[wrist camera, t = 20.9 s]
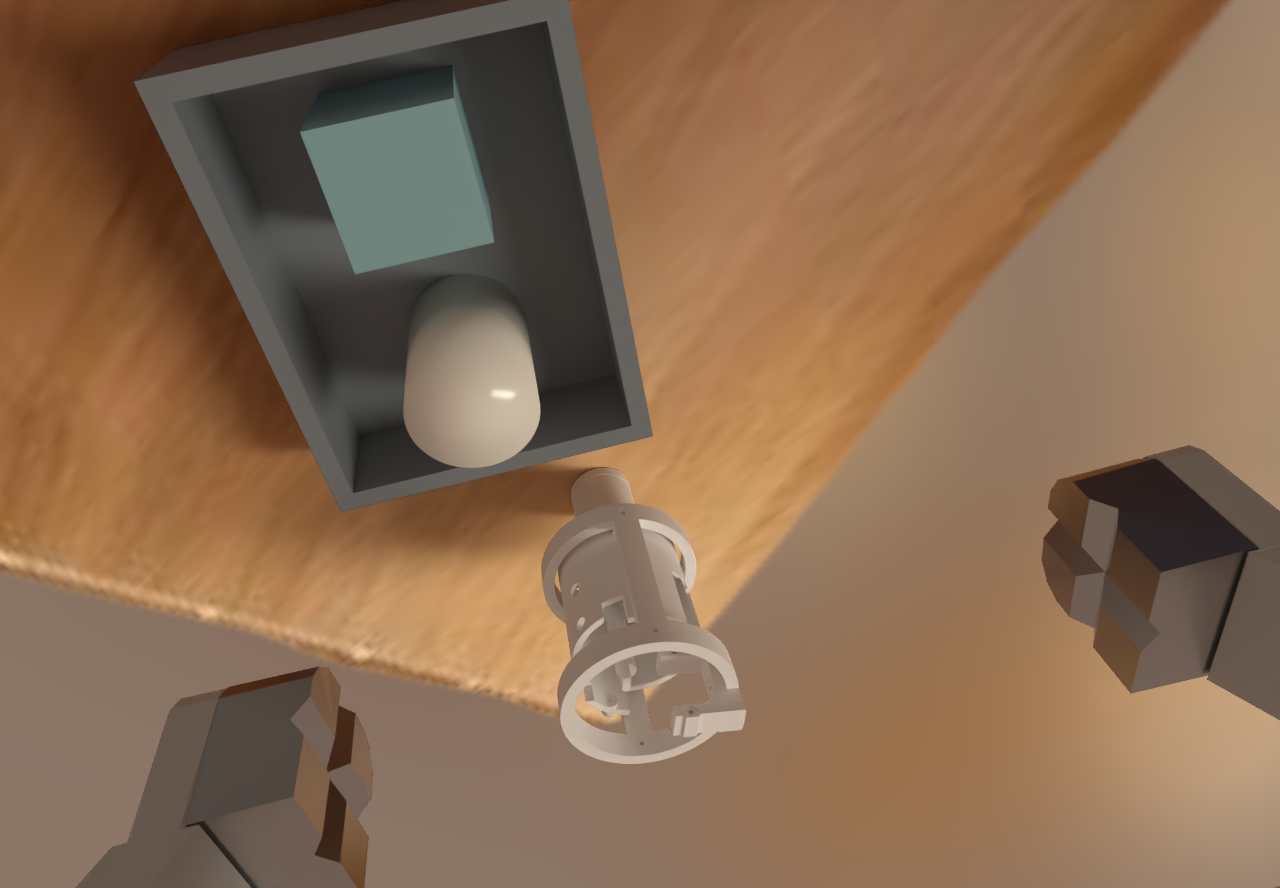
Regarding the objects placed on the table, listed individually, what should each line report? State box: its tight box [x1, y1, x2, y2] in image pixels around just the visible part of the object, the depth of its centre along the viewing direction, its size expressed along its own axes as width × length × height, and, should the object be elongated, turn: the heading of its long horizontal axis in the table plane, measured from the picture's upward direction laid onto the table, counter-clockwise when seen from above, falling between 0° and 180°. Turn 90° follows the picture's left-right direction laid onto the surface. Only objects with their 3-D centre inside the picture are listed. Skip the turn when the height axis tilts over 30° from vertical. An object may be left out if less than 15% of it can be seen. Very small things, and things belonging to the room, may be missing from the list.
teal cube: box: [300, 65, 494, 274], centre depth 32 cm, size 5×5×5 cm
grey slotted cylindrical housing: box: [541, 468, 746, 764], centre depth 40 cm, size 7×7×15 cm
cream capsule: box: [403, 274, 540, 468], centre depth 36 cm, size 5×5×7 cm
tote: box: [134, 0, 653, 512], centre depth 35 cm, size 18×14×5 cm
